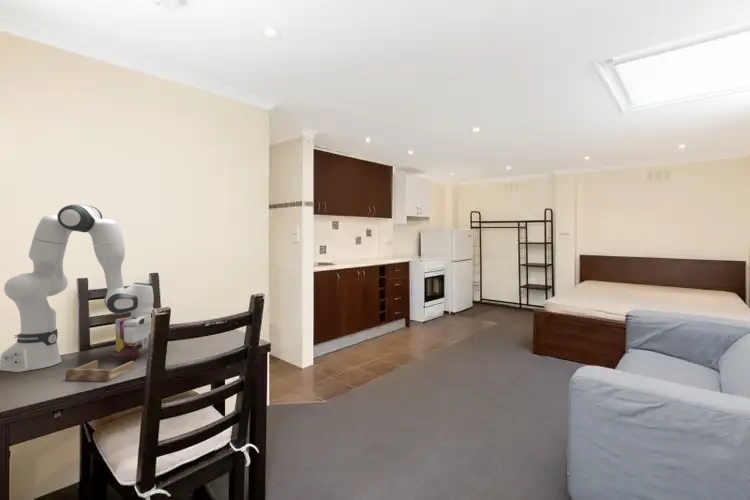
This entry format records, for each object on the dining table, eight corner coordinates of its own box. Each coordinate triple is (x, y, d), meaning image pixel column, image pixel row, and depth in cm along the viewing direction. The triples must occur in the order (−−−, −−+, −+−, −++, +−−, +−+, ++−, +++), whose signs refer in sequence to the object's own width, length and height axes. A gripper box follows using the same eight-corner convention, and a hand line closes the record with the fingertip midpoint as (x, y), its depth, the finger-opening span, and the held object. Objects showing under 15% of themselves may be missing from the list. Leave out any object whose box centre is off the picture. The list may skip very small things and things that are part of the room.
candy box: (134, 346, 187) (134, 315, 187) (139, 347, 185) (139, 316, 185) (115, 351, 179) (114, 319, 179) (120, 352, 177) (120, 320, 177)
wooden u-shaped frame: (65, 380, 142) (65, 369, 142) (95, 367, 156) (95, 357, 156) (108, 381, 141) (108, 370, 141) (134, 368, 155) (133, 358, 155)
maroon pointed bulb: (127, 351, 157) (149, 344, 172) (110, 346, 158) (134, 340, 173) (122, 367, 157) (145, 359, 172) (105, 363, 157) (130, 355, 172)
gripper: (150, 313, 184) (150, 341, 184) (120, 322, 164) (121, 354, 164) (163, 313, 184) (163, 341, 184) (135, 322, 163) (135, 354, 164)
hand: (143, 347), depth 174 cm, fingers closed
